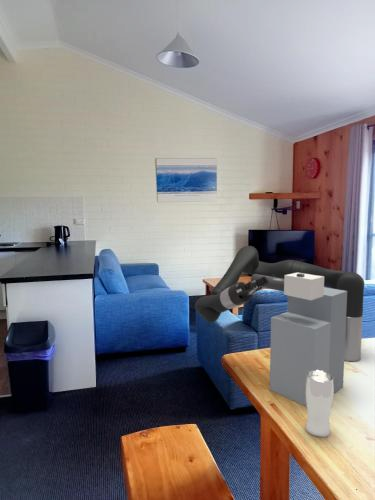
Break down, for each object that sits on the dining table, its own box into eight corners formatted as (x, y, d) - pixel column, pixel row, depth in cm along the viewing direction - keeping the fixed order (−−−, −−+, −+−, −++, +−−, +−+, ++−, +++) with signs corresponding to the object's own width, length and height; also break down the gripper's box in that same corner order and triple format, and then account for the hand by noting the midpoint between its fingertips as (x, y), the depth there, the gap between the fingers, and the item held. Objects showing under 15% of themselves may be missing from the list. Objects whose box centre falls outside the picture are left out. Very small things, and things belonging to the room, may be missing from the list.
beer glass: (334, 440, 89) (336, 383, 87) (305, 436, 90) (307, 380, 88) (329, 423, 95) (331, 370, 94) (302, 420, 97) (303, 368, 95)
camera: (260, 284, 122) (261, 264, 121) (323, 296, 105) (324, 273, 104) (247, 286, 118) (248, 266, 117) (311, 300, 100) (312, 276, 100)
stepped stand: (301, 371, 126) (304, 283, 123) (343, 387, 115) (347, 291, 111) (269, 389, 114) (271, 292, 110) (312, 409, 102) (316, 301, 99)
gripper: (251, 302, 130) (287, 286, 118) (225, 309, 121) (261, 292, 109) (244, 283, 133) (278, 265, 120) (217, 288, 123) (252, 270, 111)
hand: (270, 278), depth 115 cm, fingers closed on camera, 4 cm apart
